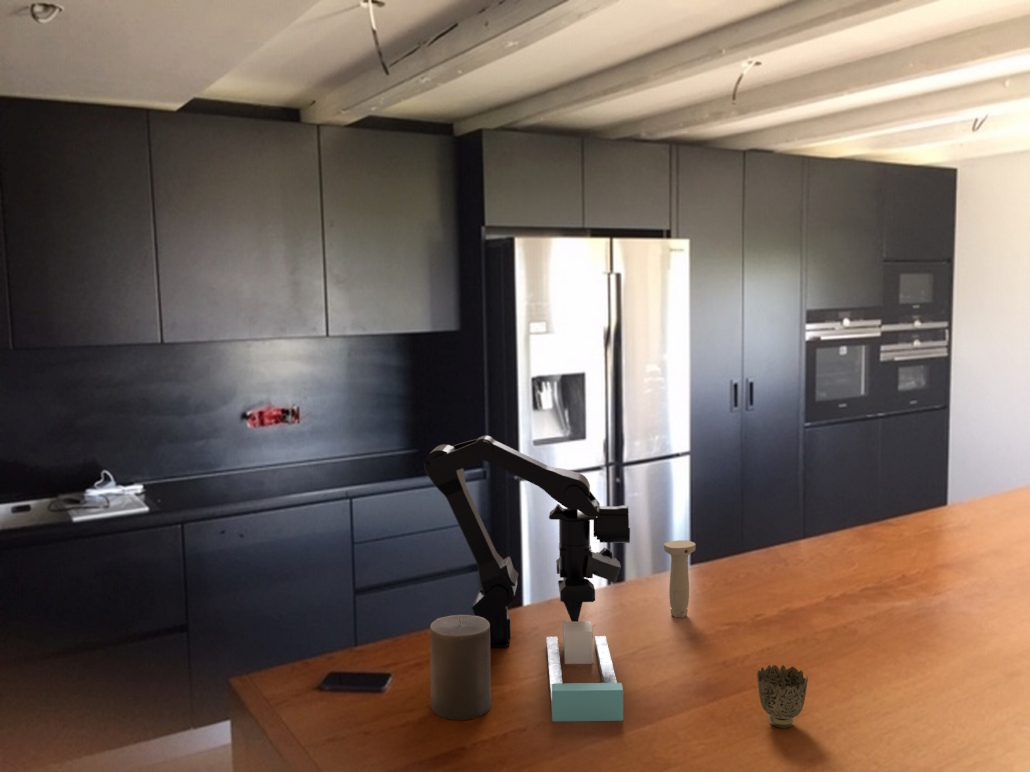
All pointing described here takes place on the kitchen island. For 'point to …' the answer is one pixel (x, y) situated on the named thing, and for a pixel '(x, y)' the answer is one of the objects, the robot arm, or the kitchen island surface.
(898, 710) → the kitchen island surface
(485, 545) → the robot arm
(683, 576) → the handle
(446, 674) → the pillar candle
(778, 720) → the cup
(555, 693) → the track
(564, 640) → the block
